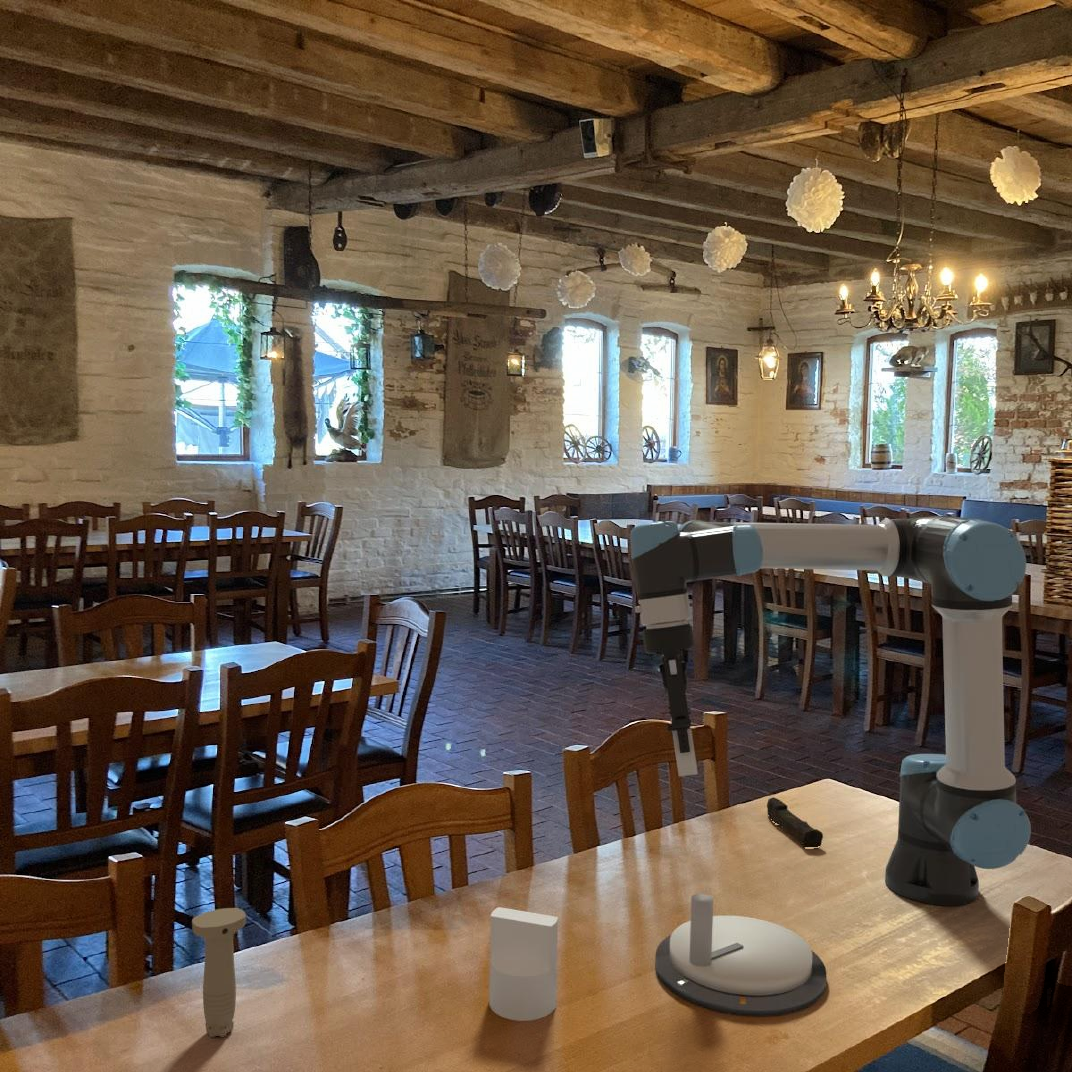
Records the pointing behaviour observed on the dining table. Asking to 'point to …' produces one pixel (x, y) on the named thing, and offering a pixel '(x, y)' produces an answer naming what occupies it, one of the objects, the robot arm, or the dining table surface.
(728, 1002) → the dial base
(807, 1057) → the dining table surface
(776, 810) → the hand tool
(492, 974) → the cylinder with rectangular tab
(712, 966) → the dial
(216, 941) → the handle
